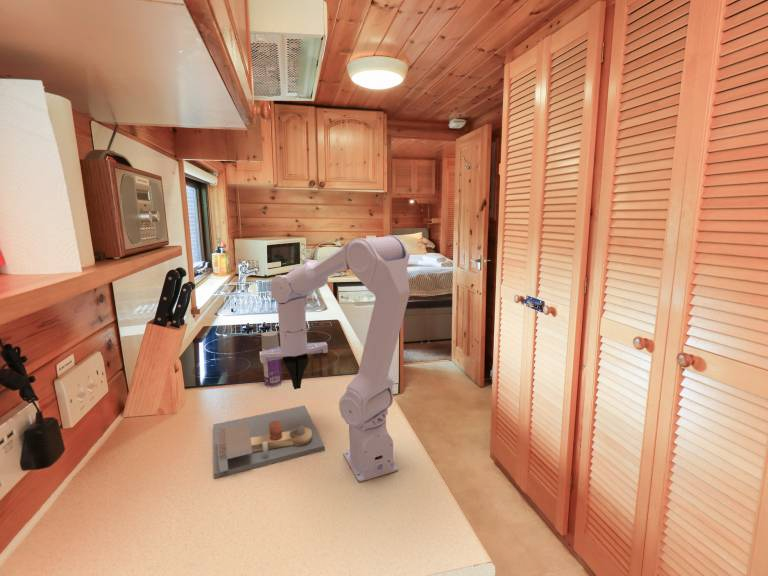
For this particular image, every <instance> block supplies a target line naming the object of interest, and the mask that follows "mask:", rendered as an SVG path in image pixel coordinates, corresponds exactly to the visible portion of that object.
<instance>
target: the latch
mask: <svg viewBox="0 0 768 576" xmlns="http://www.w3.org/2000/svg"><path fill="white" fill-rule="evenodd" d="M269 432H270V435H264V436H258V437H252V438H250V440H251V445H252V452H256V451H262V450H263V447H262V443H263V442H265V441H266V442H267V443H268V449H273V448H279V447H284V446H290V445H295V446H302V445H306V444H308V443H309V442H311V440H312V431H311V429H309V428H306V427H305V426H303V425H299V426H297V427H296V429H294V430H292V431H287V432H282V430H281V422H280V421H273V422H271V423H270V424H269Z"/></svg>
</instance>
